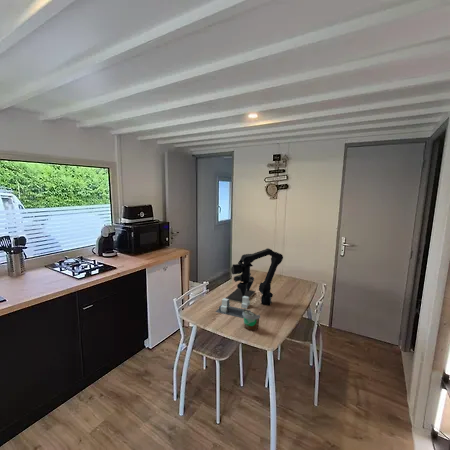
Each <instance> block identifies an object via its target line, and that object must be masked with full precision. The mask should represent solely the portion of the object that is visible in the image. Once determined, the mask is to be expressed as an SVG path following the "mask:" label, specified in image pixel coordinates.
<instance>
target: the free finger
mask: <svg viewBox="0 0 450 450" xmlns="http://www.w3.org/2000/svg"><path fill="white" fill-rule="evenodd" d="M240 304H241V305H240V308H241V309H245V308H246V310H248V308H249V306H250V305H251V300H250V299H249V297H248V296H243V297H242V303H240Z"/></svg>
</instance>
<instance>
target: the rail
mask: <svg viewBox="0 0 450 450" xmlns="http://www.w3.org/2000/svg"><path fill="white" fill-rule="evenodd" d="M221 306H222V304H220V305H219V306H218V308H217V310H215V312H214V313H219V314H223V315H225V316H226V315H228V316H231V317H235V318H240V319H244V316H243V315H242V313H243V310H244V309H245V308H241V307H235V306H231V305H230V307H227V312H222V311H221ZM246 310H247V311H250V312H252V310H248V309H246Z"/></svg>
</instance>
